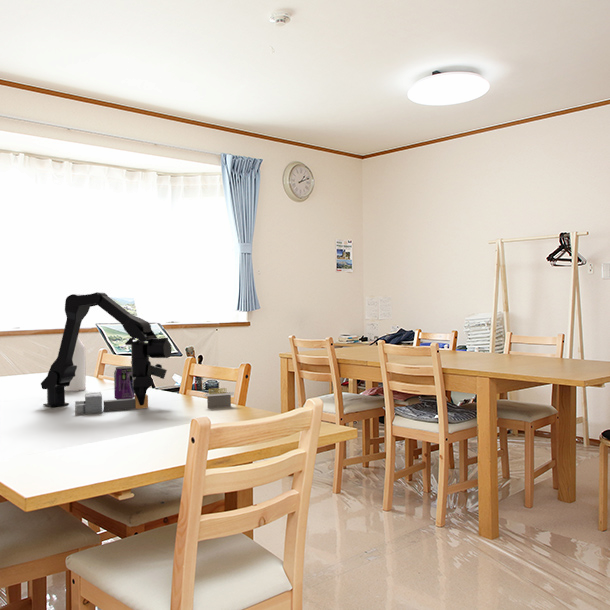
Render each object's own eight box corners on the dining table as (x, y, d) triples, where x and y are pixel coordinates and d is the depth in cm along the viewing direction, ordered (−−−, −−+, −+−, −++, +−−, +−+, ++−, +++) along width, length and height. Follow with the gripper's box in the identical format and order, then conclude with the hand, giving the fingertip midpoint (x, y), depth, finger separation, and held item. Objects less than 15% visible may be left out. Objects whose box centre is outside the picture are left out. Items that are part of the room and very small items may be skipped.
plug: (104, 411, 190) (103, 399, 190) (103, 409, 193) (103, 397, 193) (148, 407, 195) (147, 395, 195) (146, 406, 198) (146, 394, 199)
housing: (75, 415, 184) (74, 397, 184) (75, 410, 193) (75, 393, 193) (102, 413, 187) (101, 395, 187) (101, 408, 196) (100, 391, 196)
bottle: (63, 391, 239) (62, 318, 239) (67, 388, 246) (66, 318, 247) (84, 390, 240) (83, 318, 240) (87, 388, 248) (86, 318, 248)
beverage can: (128, 401, 211) (128, 368, 211) (110, 400, 212) (110, 367, 212) (138, 398, 218) (137, 366, 218) (120, 397, 219) (120, 366, 219)
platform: (188, 407, 198) (188, 388, 198) (240, 403, 204) (239, 384, 204) (195, 413, 187) (195, 392, 187) (249, 408, 193) (249, 389, 193)
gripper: (168, 358, 190) (169, 406, 190) (161, 355, 208) (161, 398, 208) (133, 360, 186) (134, 409, 186) (128, 356, 204) (129, 401, 203)
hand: (141, 404), depth 196 cm, fingers closed on plug, 4 cm apart
